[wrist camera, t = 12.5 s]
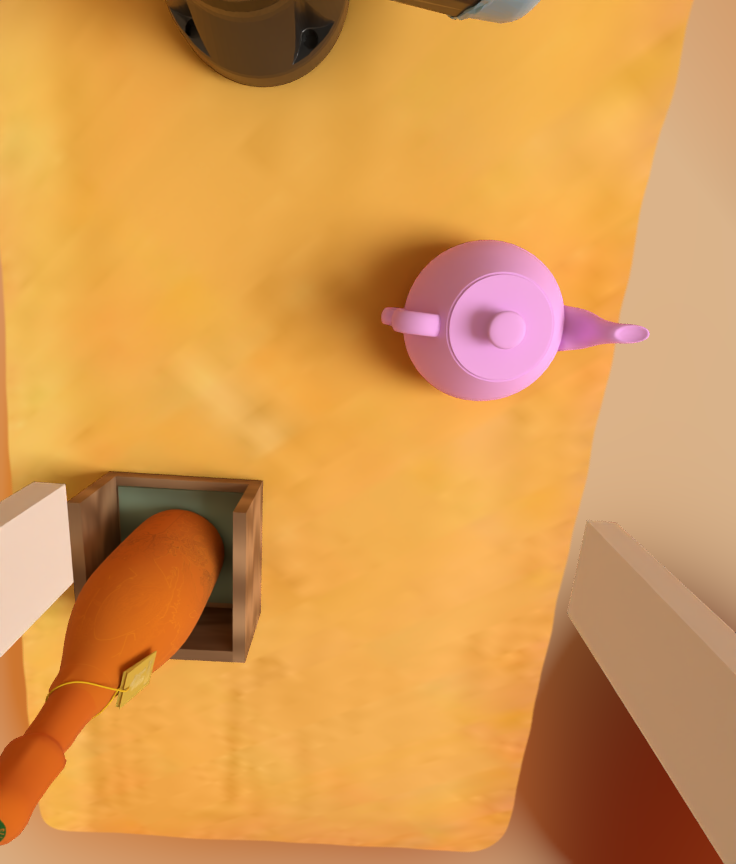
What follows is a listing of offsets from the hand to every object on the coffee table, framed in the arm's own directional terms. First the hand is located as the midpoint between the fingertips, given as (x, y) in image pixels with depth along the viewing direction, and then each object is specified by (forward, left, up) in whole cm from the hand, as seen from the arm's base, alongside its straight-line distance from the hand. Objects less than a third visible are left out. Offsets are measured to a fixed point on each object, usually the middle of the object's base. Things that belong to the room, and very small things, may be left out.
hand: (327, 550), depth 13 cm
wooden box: (+22, -17, -40) cm, 48 cm away
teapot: (-4, +12, -40) cm, 42 cm away
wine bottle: (+21, -17, -38) cm, 47 cm away
